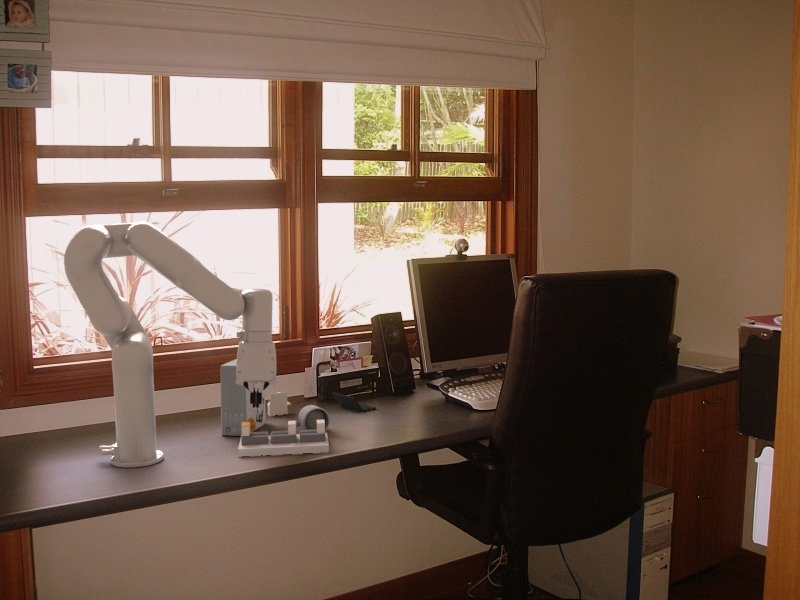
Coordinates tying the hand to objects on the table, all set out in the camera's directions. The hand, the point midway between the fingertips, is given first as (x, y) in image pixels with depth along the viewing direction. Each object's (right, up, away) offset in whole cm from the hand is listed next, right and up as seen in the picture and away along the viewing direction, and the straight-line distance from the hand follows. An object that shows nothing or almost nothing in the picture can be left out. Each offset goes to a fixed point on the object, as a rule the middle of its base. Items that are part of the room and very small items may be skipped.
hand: (255, 406), depth 211 cm
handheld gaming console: (+23, -7, +45) cm, 51 cm away
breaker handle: (-3, -7, +1) cm, 8 cm away
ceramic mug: (+12, -10, +18) cm, 23 cm away
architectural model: (0, -8, +38) cm, 39 cm away
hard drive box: (-7, -10, +22) cm, 25 cm away
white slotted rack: (+7, -11, +2) cm, 13 cm away
